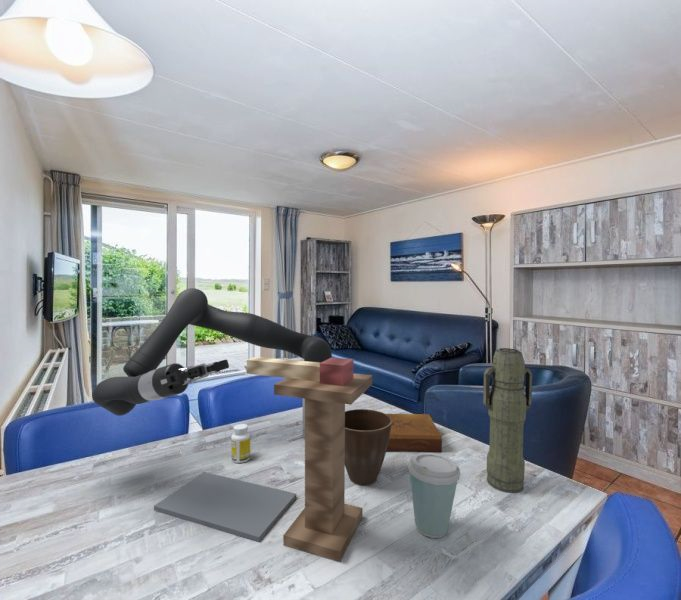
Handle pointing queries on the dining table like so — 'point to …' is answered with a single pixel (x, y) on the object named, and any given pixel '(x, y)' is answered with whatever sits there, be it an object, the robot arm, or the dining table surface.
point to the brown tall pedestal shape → (324, 467)
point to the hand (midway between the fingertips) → (216, 366)
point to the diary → (414, 433)
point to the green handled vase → (507, 418)
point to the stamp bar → (304, 369)
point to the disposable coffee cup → (433, 491)
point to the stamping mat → (228, 505)
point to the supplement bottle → (240, 444)
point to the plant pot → (365, 444)
